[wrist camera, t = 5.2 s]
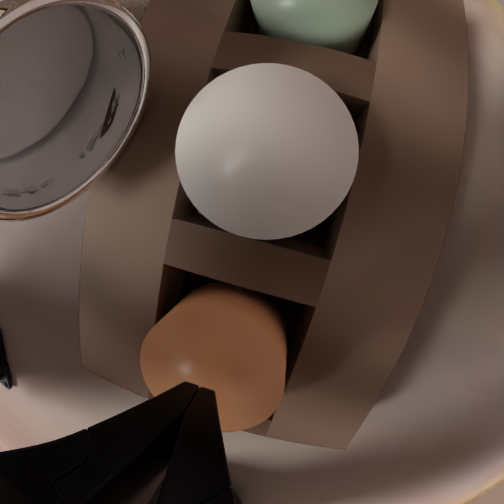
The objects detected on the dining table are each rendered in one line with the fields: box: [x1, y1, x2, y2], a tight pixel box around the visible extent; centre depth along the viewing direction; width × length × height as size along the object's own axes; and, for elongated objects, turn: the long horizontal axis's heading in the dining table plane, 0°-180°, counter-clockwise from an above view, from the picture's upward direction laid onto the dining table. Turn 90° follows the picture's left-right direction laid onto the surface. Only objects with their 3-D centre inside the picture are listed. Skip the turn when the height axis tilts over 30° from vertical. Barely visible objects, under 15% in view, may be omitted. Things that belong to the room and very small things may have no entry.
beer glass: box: [0, 0, 152, 222], centre depth 7 cm, size 7×7×15 cm
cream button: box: [175, 63, 359, 240], centre depth 8 cm, size 4×4×3 cm
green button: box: [250, 0, 378, 54], centre depth 8 cm, size 4×4×3 cm
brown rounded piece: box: [140, 282, 288, 432], centre depth 9 cm, size 4×4×3 cm
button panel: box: [79, 0, 469, 450], centre depth 9 cm, size 20×12×2 cm, turn 166°
